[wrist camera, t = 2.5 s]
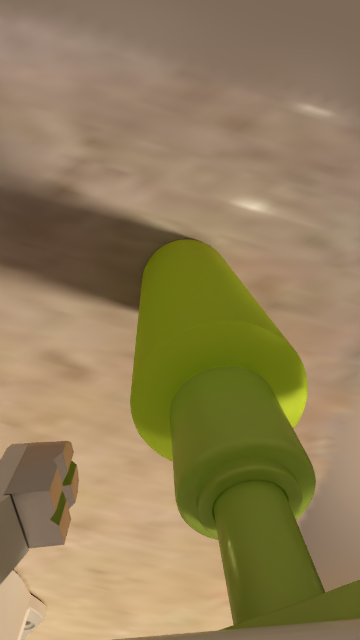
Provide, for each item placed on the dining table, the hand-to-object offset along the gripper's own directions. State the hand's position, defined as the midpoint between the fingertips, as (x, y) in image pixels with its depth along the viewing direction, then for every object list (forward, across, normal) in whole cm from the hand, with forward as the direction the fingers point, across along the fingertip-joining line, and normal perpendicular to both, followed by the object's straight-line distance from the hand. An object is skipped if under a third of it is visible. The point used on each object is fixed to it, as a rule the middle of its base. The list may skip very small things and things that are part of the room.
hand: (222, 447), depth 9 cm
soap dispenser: (+15, +1, 0) cm, 15 cm away
